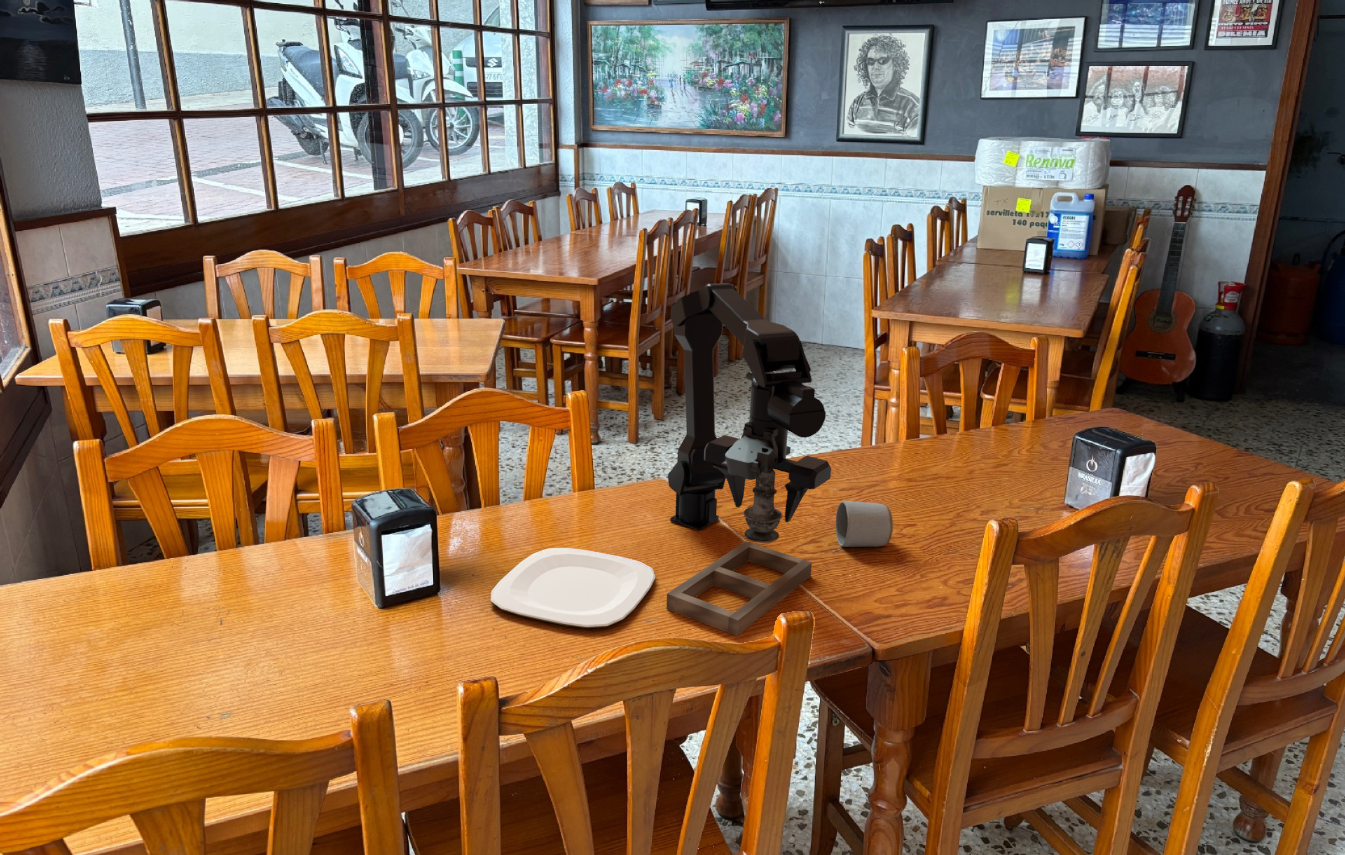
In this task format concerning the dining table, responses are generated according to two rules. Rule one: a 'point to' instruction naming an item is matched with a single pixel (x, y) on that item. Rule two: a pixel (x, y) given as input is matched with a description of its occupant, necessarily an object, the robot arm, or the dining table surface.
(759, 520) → the salt shaker
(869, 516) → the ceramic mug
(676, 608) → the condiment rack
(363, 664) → the dining table surface
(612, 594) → the plate
